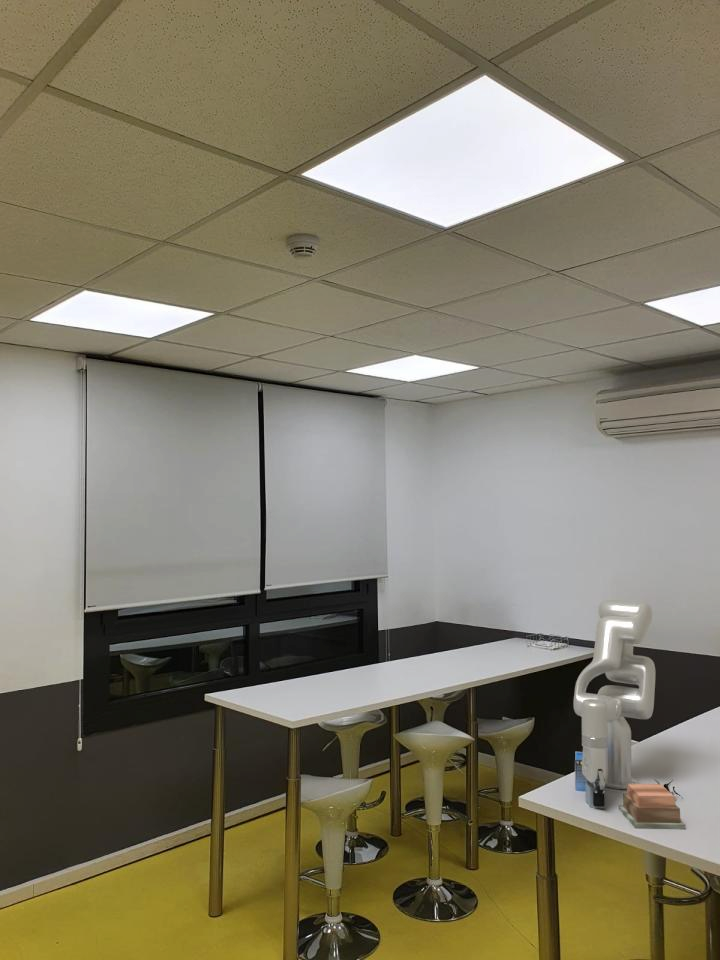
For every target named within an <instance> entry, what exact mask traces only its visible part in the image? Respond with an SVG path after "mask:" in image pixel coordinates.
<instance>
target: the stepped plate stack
mask: <svg viewBox="0 0 720 960" xmlns="http://www.w3.org/2000/svg"><path fill="white" fill-rule="evenodd" d="M670 792H671V791H670ZM670 792H669V791H668V790H667V789H666V788H665V787H664V785H663V784H661V783H660V784H658V783H637V784H627V789H626V792H622V804H619V805H618V810H619V812H622V813H623V814H622V813H621V814H622V815H623V816H624V817H625V819H627V821H628V820H629V821H628V822H629V823H630V824H631V825H632V827H633V828H635V829H649V830H650V829H652V830H653V829H655V830H656V829H658V830H660V829H661V830H662V829H663V830H686V824H685V823H684V822H683V821H682V820H681V808H680V807H679V806H678V805H677V804H676V801H675V800H676V796H675V795H673V794H674V793H673V794H671V793H670Z"/></svg>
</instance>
